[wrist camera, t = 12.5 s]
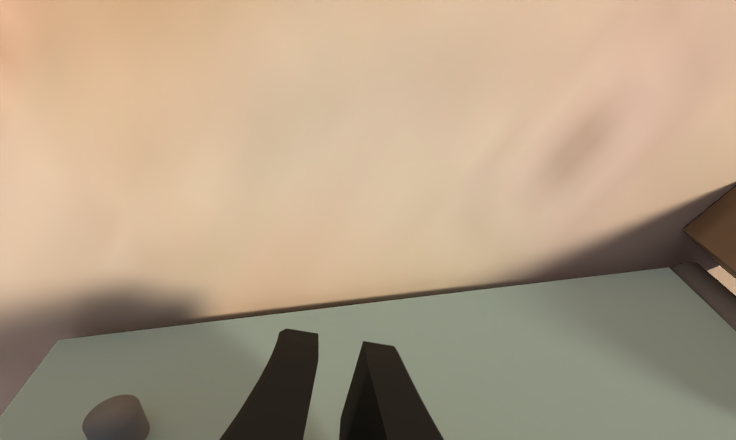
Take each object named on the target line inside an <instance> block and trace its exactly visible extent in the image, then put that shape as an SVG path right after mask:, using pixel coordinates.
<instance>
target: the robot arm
mask: <svg viewBox="0 0 736 440" xmlns="http://www.w3.org/2000/svg"><path fill="white" fill-rule="evenodd" d="M318 356H319V341H318V333H312V332H306V331H300V330H293V329H287V328H286V329H284V330H282V331H280V332H279V335H278V339H277V342H276V345H275V347H274V350H273V352H272V355H271V357H270V359H269V361H268V363H267V365H266V367H265V369H264V371H263V372H262V374H261V376H260V378H259V380H258V382H257V383H256V385H255V386H254V388H253V390H252V391H251V393H250V395H249V396H248V398H247V400H246V401H245V403H244V404H243V406H242V408H241V409H240V411H239V412H238V414H237V415H236V417H235V418H234V420H233V421H232V422H231V424H230V425H229V427H228V428H227V429H226V431H225V432H224V434H223V435H222V436H221V438H220V439H219V440H303V437H304V432H305V427H306V422H307V417H308V411H309V406H310V401H311V396H312V391H313V386H314V381H315V375H316V370H317V365H318ZM339 440H444V439H443V437H442V435H441V433H440V432H439V430H438V428H437V426H436V425H435V423H434V421H433V419H432V418H431V416H430V414H429V412H428V410H427V408H426V407H425V405H424V403H423V401H422V399H421V397H420V395H419V393H418V391H417V389H416V387H415V385H414V383H413V381H412V379H411V377H410V375H409V373H408V371H407V369H406V367H405V365H404V363H403V361H402V359H401V357H400V355H399V353H398V351H397V349H396V348H395V346H391V345H385V344H379V343H372V342H366V341H363V343H362V347H361V350H360V354H359V357H358V360H357V364H356V367H355V371H354V374H353V377H352V381H351V384H350V388H349V391H348V394H347V398H346V401H345V405H344V408H343V411H342V415H341V419H340V432H339Z"/></svg>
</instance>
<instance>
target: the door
mask: <svg viewBox="0 0 736 440" xmlns="http://www.w3.org/2000/svg"><path fill="white" fill-rule="evenodd" d="M286 328H287V329H293V330H300V331H306V332H312V333H318V341H319V356H318V365H317V370H316V375H315V381H314V386H313V391H312V396H311V401H310V406H309V411H308V417H307V422H306V427H305V432H304V437H303V440H339V432H340V419H341V415H342V411H343V408H344V405H345V401H346V398H347V394H348V391H349V388H350V384H351V381H352V377H353V374H354V371H355V367H356V364H357V360H358V357H359V354H360V350H361V347H362V343H363V341H366V342H372V343H379V344H385V345H391V346H395V348H396V349H397V351H398V353H399V355H400V357H401V359H402V361H403V363H404V365H405V367H406V369H407V371H408V373H409V375H410V377H411V379H412V381H413V383H414V385H415V387H416V389H417V391H418V393H419V395H420V397H421V399H422V401H423V403H424V405H425V407H426V408H427V410H428V412H429V414H430V416H431V418H432V419H433V421H434V423H435V425H436V426H437V428H438V430H439V432H440V433H441V435H442V437H443V439H444V440H736V296H735V295H734V294H733V293H732V292H730V291H729V290H728V289H727V288H726V287H725V286H724V285H722V284H721V283H720V282H719V281H718V280H717V279H715V278H714V277H713V276H712V275H711V274H710V273H709V272H707V271H706V270H705V269H704V268H703V267H702V266H700V265H699V264H697V263H694V262H686V263H681V264H679V265H677V266H675V267H673V268H672V269H670V268H669V267H667V268H659V269H650V270H642V271H633V272H625V273H617V274H608V275H600V276H591V277H583V278H575V279H566V280H558V281H549V282H541V283H532V284H524V285H516V286H507V287H499V288H490V289H482V290H474V291H465V292H457V293H448V294H440V295H432V296H423V297H415V298H406V299H398V300H389V301H381V302H373V303H364V304H356V305H347V306H339V307H331V308H322V309H314V310H305V311H297V312H288V313H280V314H272V315H263V316H255V317H246V318H238V319H230V320H221V321H213V322H204V323H196V324H187V325H179V326H171V327H162V328H154V329H145V330H137V331H129V332H120V333H112V334H103V335H95V336H87V337H78V338H70V339H61V340H58V341H57V342H56V343H55V344H54V346H53V347H52V348H51V350H50V351H49V352H48V354H47V355H46V356H45V358H44V359H43V360H42V362H41V363H40V364H39V366H38V367H37V368H36V369H35V371H34V372H33V373H32V375H31V376H30V377H29V379H28V380H27V381H26V383H25V384H24V385H23V387H22V388H21V389H20V391H19V392H18V393H17V394H16V396H15V397H14V398H13V400H12V401H11V402H10V404H9V405H8V406H7V408H6V409H5V410H4V412H3V413H2V414H1V415H0V440H219V439H220V438H221V436H222V435H223V434H224V432H225V431H226V429H227V428H228V427H229V425H230V424H231V422H232V421H233V420H234V418H235V417H236V415H237V414H238V412H239V411H240V409H241V408H242V406H243V404H244V403H245V401H246V400H247V398H248V396H249V395H250V393H251V391H252V390H253V388H254V386H255V385H256V383H257V382H258V380H259V378H260V376H261V374H262V372H263V371H264V369H265V367H266V365H267V363H268V361H269V359H270V357H271V355H272V352H273V350H274V347H275V345H276V342H277V339H278V335H279V332H280V331H282V330H284V329H286Z"/></svg>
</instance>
